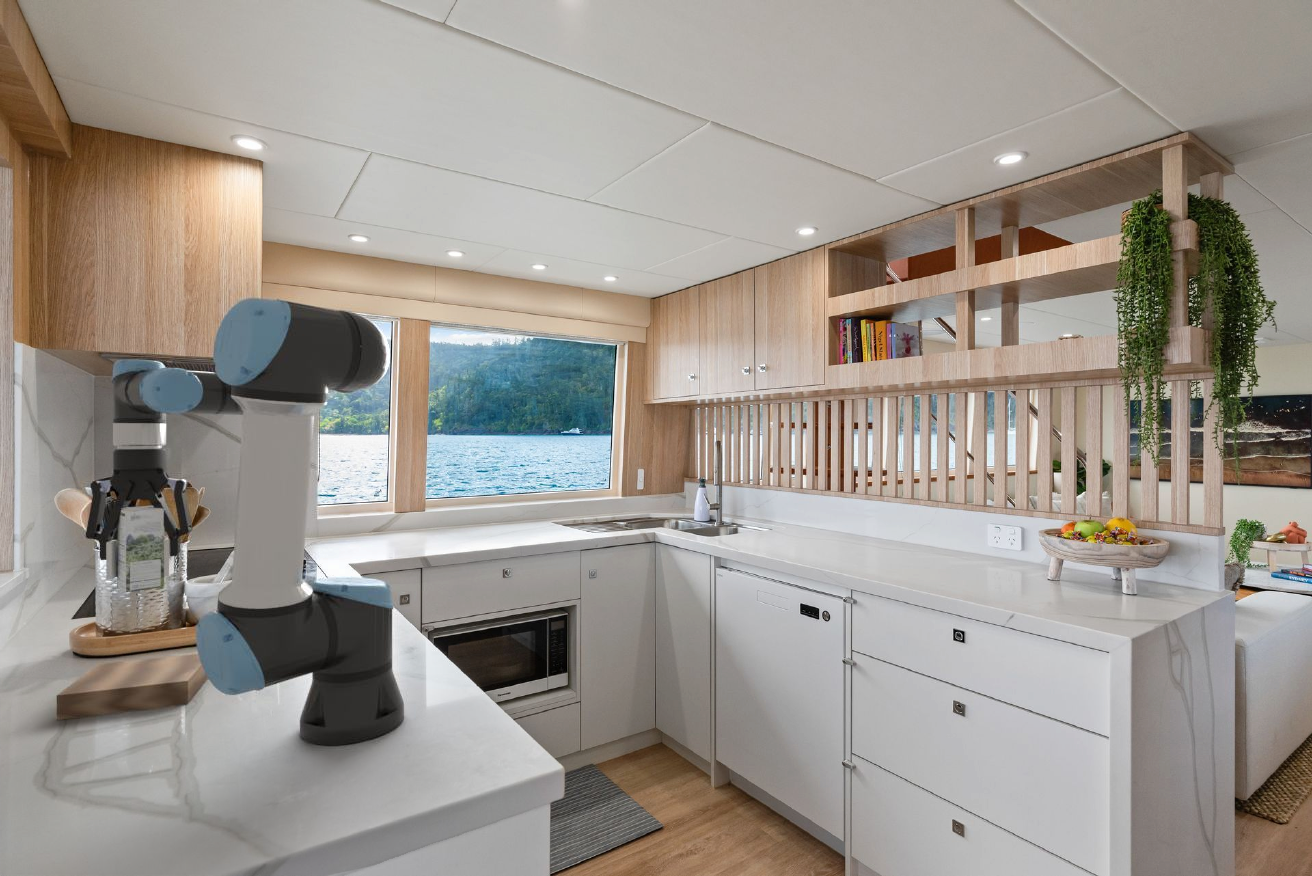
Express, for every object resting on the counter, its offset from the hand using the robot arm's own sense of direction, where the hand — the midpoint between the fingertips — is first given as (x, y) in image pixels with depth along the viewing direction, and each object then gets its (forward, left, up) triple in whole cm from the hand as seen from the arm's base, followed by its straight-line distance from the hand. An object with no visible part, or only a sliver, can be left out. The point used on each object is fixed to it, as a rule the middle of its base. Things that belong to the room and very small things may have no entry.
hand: (141, 576), depth 119 cm
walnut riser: (0, 0, -21) cm, 21 cm away
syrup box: (0, 0, -2) cm, 2 cm away
